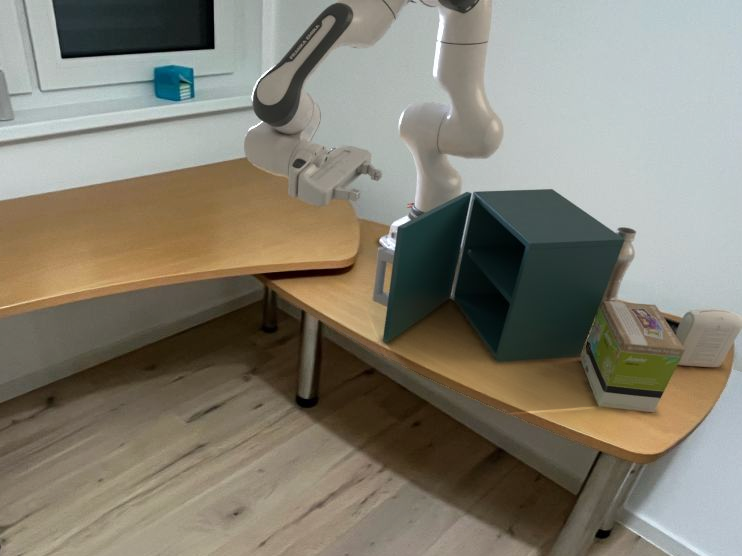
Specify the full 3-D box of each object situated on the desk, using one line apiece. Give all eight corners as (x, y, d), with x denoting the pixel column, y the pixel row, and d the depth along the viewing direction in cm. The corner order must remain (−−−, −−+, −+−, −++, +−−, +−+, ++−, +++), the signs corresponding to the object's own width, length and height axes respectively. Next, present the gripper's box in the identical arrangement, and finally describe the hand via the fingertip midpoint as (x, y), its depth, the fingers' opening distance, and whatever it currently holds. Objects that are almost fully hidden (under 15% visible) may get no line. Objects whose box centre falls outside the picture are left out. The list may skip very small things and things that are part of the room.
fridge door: (362, 330, 124) (373, 218, 110) (426, 288, 140) (444, 185, 125) (387, 342, 121) (403, 228, 106) (450, 298, 136) (471, 193, 122)
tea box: (577, 360, 116) (601, 297, 108) (629, 365, 115) (658, 303, 106) (596, 407, 104) (625, 341, 96) (655, 414, 103) (689, 348, 94)
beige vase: (615, 319, 130) (648, 238, 118) (584, 315, 131) (614, 235, 119) (608, 304, 135) (639, 226, 123) (578, 301, 136) (606, 223, 124)
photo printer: (711, 356, 118) (739, 305, 111) (723, 369, 114) (752, 317, 107) (660, 354, 118) (684, 303, 111) (670, 366, 115) (696, 314, 108)
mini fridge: (497, 362, 116) (530, 243, 100) (451, 297, 137) (473, 191, 122) (580, 357, 117) (625, 239, 102) (522, 293, 139) (552, 188, 124)
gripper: (335, 159, 127) (390, 178, 122) (284, 200, 115) (343, 223, 110) (337, 132, 122) (395, 151, 117) (285, 172, 111) (346, 194, 106)
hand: (369, 186), depth 114 cm, fingers open, 8 cm apart
